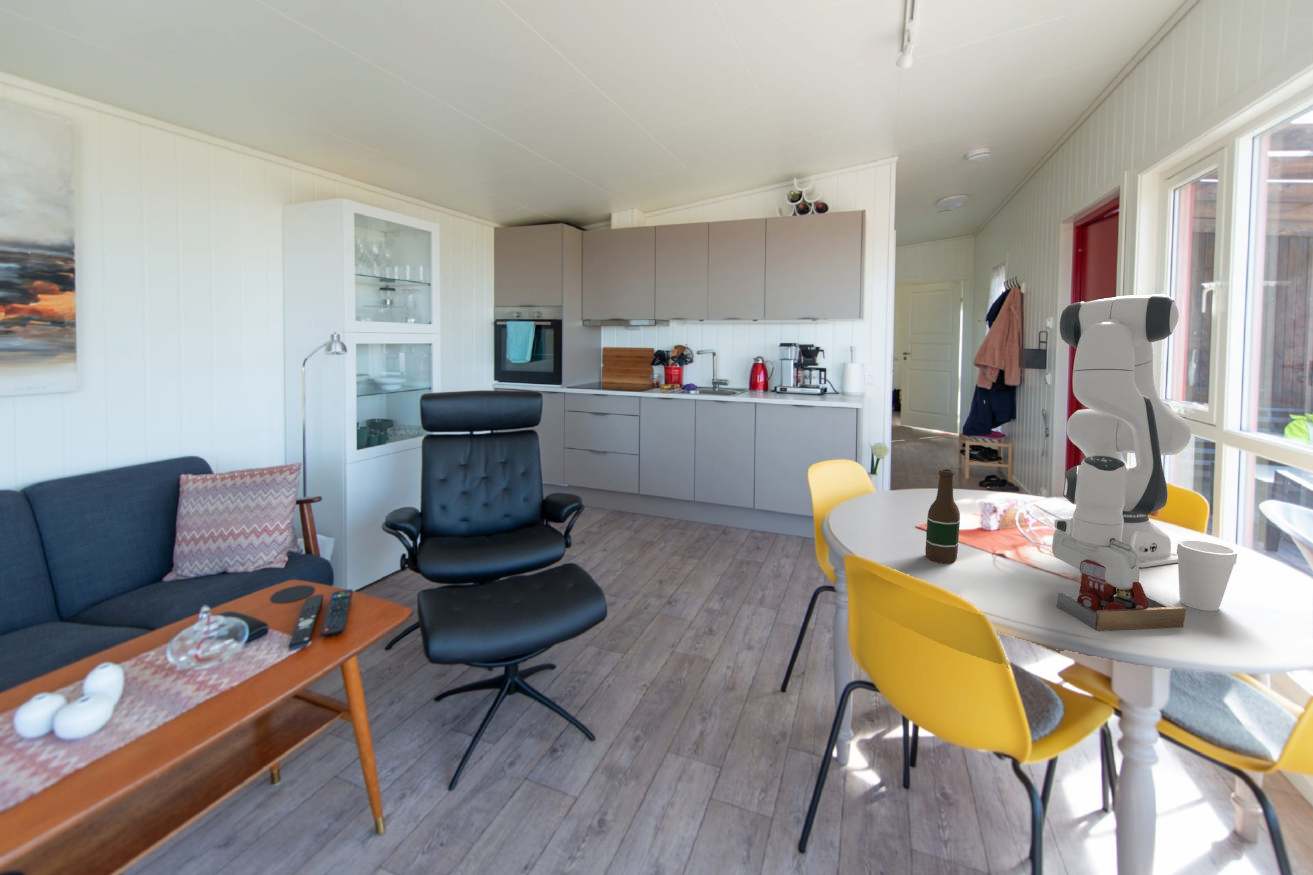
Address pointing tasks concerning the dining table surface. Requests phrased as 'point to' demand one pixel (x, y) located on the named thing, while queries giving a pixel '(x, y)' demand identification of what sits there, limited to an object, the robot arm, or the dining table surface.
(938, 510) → the beer bottle
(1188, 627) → the dining table surface
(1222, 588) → the foam cup
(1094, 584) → the toy fire truck
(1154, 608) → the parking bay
